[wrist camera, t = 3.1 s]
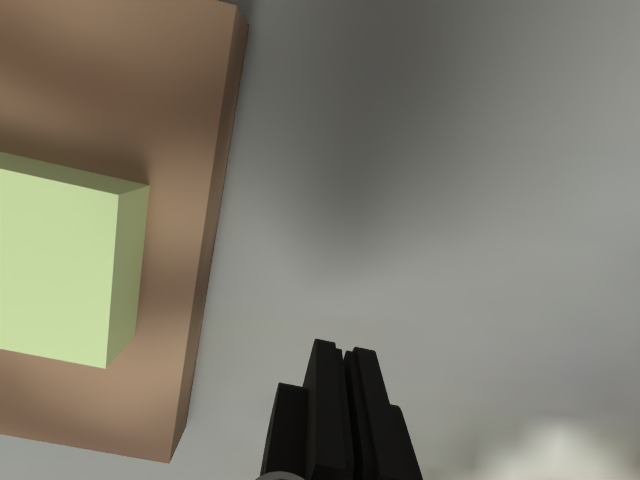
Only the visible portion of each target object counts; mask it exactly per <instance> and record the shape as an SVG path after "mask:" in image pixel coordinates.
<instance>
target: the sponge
mask: <svg viewBox="0 0 640 480" xmlns="http://www.w3.org/2000/svg"><path fill="white" fill-rule="evenodd" d="M149 189H150V185H146V184H141V183H137V182H132V181H128V180H124V179H119V178H115V177H110V176H106V175H101V174H97V173H93V172H88V171H84V170H79V169H75V168H70V167H66V166H62V165H57V164H53V163H48V162H44V161H39V160H35V159H31V158H26V157H22V156H17V155H13V154H8V153H4V152H0V349H4V350H9V351H14V352H20V353H25V354H30V355H35V356H41V357H46V358H51V359H56V360H62V361H67V362H72V363H77V364H83V365H88V366H93V367H99V368H104V369H106V368H107V367H108V366H109V364H110V363H111V362H112V361H113V360H114V359H115V358H116V357H117V356H118V355H119V353H120V352H121V351H122V350H123V349H124V348H125V347H126V346H127V345H128V343H129V342H130V341H131V340H132V339H133V338H134V337H135V330H136V320H137V310H138V300H139V290H140V280H141V270H142V260H143V250H144V240H145V230H146V219H147V209H148V199H149Z"/></svg>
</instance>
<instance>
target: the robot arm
mask: <svg viewBox="0 0 640 480" xmlns="http://www.w3.org/2000/svg"><path fill="white" fill-rule="evenodd" d="M256 480H423V478H422V475H421V472H420V468H419V465H418V462H417V459H416V456H415V452H414V449H413V446H412V443H411V439H410V436H409V433H408V430H407V427H406V423H405V420H404V417H403V414H402V411H401V409H400V407H399V406H397V405H391V404H390V403H389V399H388V396H387V392H386V388H385V385H384V381H383V377H382V374H381V370H380V366H379V363H378V359H377V355H376V352H375V351H373V350H368V349H364V348H359V347H355V348H354V349H353V351H346V353H345V356H344V359H343V356H342V350H341V349H337V348H336V345H335V343H334V342H329V341H325V340H320V339H315V341H314V344H313V348H312V352H311V356H310V359H309V363H308V367H307V371H306V375H305V379H304V383H303V387H300V386H295V385H290V384H284V383H279V384H278V388H277V392H276V396H275V400H274V405H273V409H272V414H271V418H270V423H269V428H268V433H267V438H266V444H265V449H264V455H263V461H262V466H261V472H260V477H258V478H257V479H256Z"/></svg>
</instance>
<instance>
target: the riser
mask: <svg viewBox="0 0 640 480" xmlns="http://www.w3.org/2000/svg"><path fill="white" fill-rule="evenodd" d="M248 27H249V24H248V22H247V21H246V19H245V18H244V16H243V15H242V13H241V11H240V10H239V8H238V7H237V5H234V4H230V3H226V2H222V1H219V0H0V152H4V153H8V154H13V155H17V156H22V157H26V158H31V159H35V160H39V161H44V162H48V163H53V164H57V165H62V166H66V167H70V168H75V169H79V170H84V171H88V172H93V173H97V174H101V175H106V176H110V177H115V178H119V179H124V180H128V181H132V182H137V183H141V184H146V185H150V189H149V199H148V209H147V219H146V230H145V240H144V250H143V260H142V270H141V280H140V290H139V300H138V310H137V320H136V330H135V337H134V338H133V339H132V340H131V341H130V342H129V343H128V345H127V346H126V347H125V348H124V349H123V350H122V351H121V352H120V353H119V355H118V356H117V357H116V358H115V359H114V360H113V361H112V362H111V363H110V364H109V366H108V367H107V368H106V369H104V368H99V367H93V366H88V365H83V364H77V363H72V362H67V361H62V360H56V359H51V358H46V357H41V356H35V355H30V354H25V353H20V352H14V351H9V350H4V349H0V434H3V435H8V436H14V437H20V438H25V439H31V440H37V441H43V442H48V443H54V444H60V445H66V446H71V447H77V448H83V449H89V450H94V451H100V452H106V453H111V454H117V455H123V456H129V457H134V458H140V459H146V460H152V461H157V462H163V463H170V461H171V459H172V456H173V454H174V452H175V450H176V448H177V445H178V443H179V441H180V439H181V437H182V434H183V432H184V430H185V428H186V421H187V415H188V409H189V402H190V396H191V389H192V383H193V377H194V370H195V364H196V358H197V351H198V345H199V339H200V332H201V326H202V320H203V313H204V307H205V300H206V294H207V288H208V281H209V275H210V269H211V262H212V256H213V250H214V243H215V237H216V231H217V224H218V218H219V211H220V205H221V199H222V192H223V186H224V180H225V173H226V167H227V161H228V154H229V148H230V142H231V135H232V129H233V123H234V116H235V110H236V103H237V97H238V91H239V84H240V78H241V72H242V65H243V59H244V53H245V46H246V40H247V34H248Z"/></svg>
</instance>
